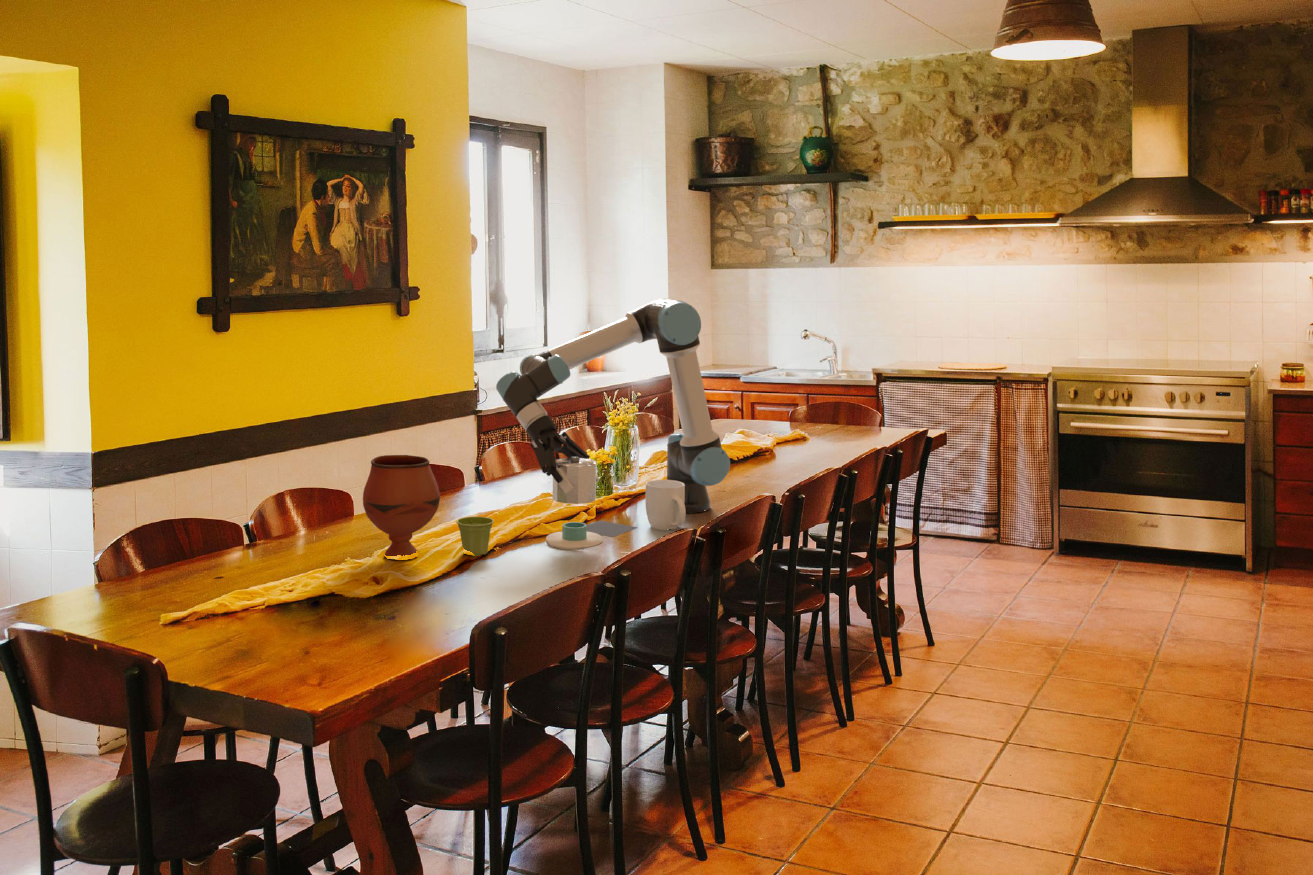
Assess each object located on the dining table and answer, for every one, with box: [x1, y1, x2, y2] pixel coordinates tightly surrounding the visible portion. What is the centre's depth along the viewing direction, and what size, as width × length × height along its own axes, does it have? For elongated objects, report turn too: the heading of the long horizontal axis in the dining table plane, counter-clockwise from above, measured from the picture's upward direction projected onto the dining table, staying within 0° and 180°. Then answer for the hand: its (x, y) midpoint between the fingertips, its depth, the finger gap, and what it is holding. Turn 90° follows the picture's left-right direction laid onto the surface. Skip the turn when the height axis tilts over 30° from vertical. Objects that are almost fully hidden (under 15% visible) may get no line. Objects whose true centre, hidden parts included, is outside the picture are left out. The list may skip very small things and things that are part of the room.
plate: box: [545, 521, 604, 551], centre depth 309 cm, size 15×15×5 cm
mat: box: [587, 520, 638, 538], centre depth 322 cm, size 13×13×1 cm
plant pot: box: [456, 516, 495, 557], centre depth 296 cm, size 9×9×9 cm
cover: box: [552, 457, 597, 505], centre depth 306 cm, size 11×11×11 cm
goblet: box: [362, 454, 441, 556], centre depth 290 cm, size 19×19×25 cm
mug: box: [644, 479, 687, 531], centre depth 323 cm, size 15×11×13 cm
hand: (583, 487), depth 305 cm, fingers closed on cover, 11 cm apart
